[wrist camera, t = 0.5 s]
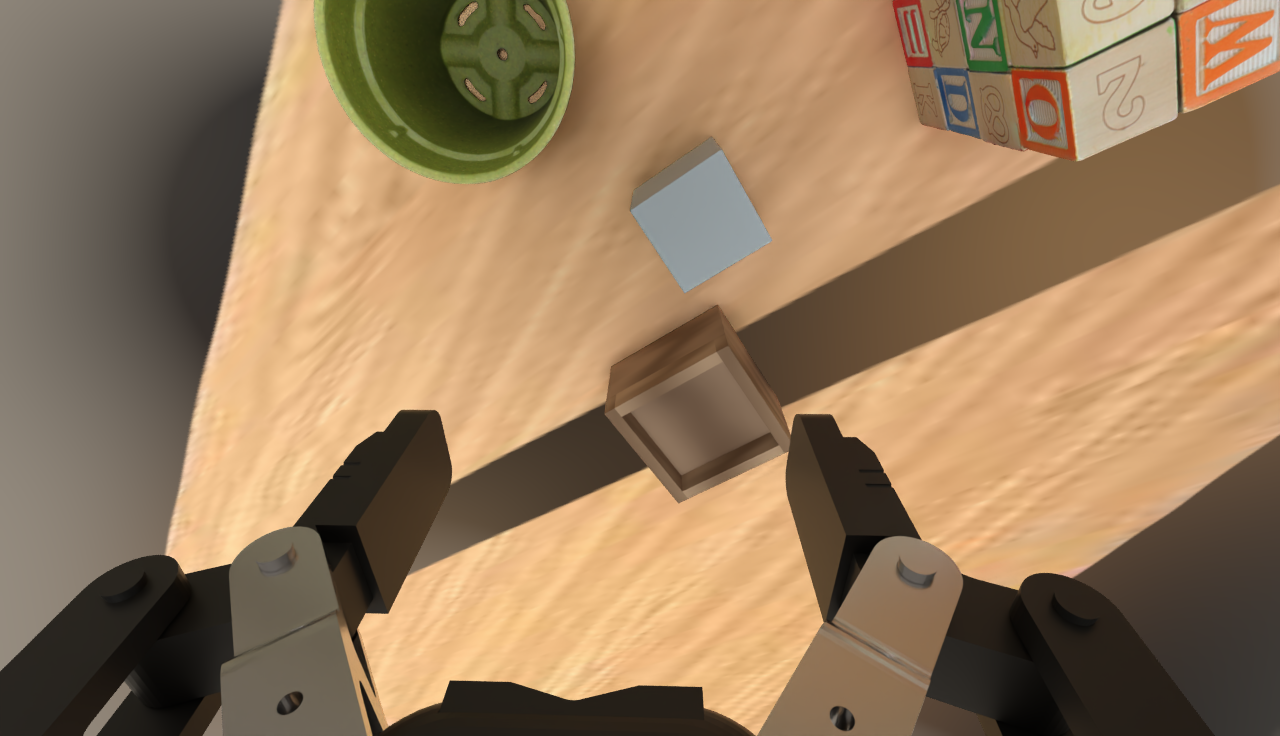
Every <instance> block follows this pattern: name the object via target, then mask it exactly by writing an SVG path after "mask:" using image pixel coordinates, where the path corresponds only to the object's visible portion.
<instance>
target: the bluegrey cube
mask: <svg viewBox="0 0 1280 736" xmlns="http://www.w3.org/2000/svg"><path fill="white" fill-rule="evenodd" d="M630 212H631V213H632V215H633V216H634V218H635V219H636V221H637V222H638V224H639V225H640V227H641V228H642V230H643V231H644V233H645V234H646V236H647V237H648V239H649V240H650V242H651V243H652V245H653V246H654V248H655V249H656V251H657V253H658V254H659V256H660V257H661V259H662V260H663V262H664V263H665V265H666V266H667V268H668V269H669V271H670V272H671V274H672V275H673V277H674V278H675V280H676V281H677V283H678V284H679V286H680V287H681V289H682V290H683V292H684V293H686V292H688V291H690V290H691V289H693V288H695V287H696V286H698V285H700V284H701V283H703V282H705V281H706V280H708V279H710V278H711V277H713V276H715V275H716V274H718V273H720V272H721V271H723V270H725V269H726V268H728V267H730V266H731V265H733V264H735V263H736V262H738V261H740V260H741V259H743V258H745V257H746V256H748V255H750V254H751V253H753V252H755V251H756V250H758V249H760V248H761V247H763V246H765V245H766V244H768V243H770V242H771V241H772V239H771V237H770V235H769V234H768V232H767V230H766V228H765V226H764V225H763V223H762V221H761V219H760V217H759V216H758V214H757V212H756V210H755V208H754V207H753V205H752V203H751V201H750V199H749V198H748V196H747V194H746V192H745V190H744V189H743V187H742V185H741V183H740V181H739V180H738V178H737V176H736V174H735V172H734V171H733V169H732V167H731V165H730V163H729V162H728V160H727V158H726V156H725V154H724V153H723V151H722V149H721V148H720V147H719V145H718V144H717V143H716V141H715V140H714V139H713V137H710V138H709V139H708V140H706V141H705V142H703V143H702V144H700V145H699V146H697V147H696V148H694V149H693V150H691V151H690V152H689V153H687V154H686V155H684V156H683V157H681V158H680V159H678V160H677V161H675V162H674V163H672V164H671V165H670V166H668V167H667V168H665V169H664V170H662V171H661V172H659V173H658V174H656V175H655V176H653V177H652V178H651V179H649V180H648V181H646V182H645V183H643V184H642V185H640V186H639V187H637V188H636V189H634V191H633V196H632V202H631V208H630Z"/></svg>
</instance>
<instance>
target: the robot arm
mask: <svg viewBox="0 0 1280 736" xmlns="http://www.w3.org/2000/svg"><path fill="white" fill-rule="evenodd" d="M451 478H452V465H451V460H450V456H449V451H448V447H447V443H446V438H445V434H444V430H443V425H442V421H441V417H440V415H439V413H438V412H437V411H436V410H401V411H400V412H398V414H397V415H396V416H395V418H394V419H393V420H392V422H391V423H390V424H389V426H388V427H387V428H386V430H385V431H384V432H376V433H374V434H373V435H371V436H370V437H368V438H367V439H366V440H364V441H363V442H361V443H360V444H358V445H357V446H356V447H355V448H354V450H353V451H352V452H351V453H350V455H349V456H348V457H347V459H346V460H345V461H344V465H341V466H340V467H339V469H338V470H337V471H336V473H335V474H334V475H333V479H330V480H329V481H328V483H327V484H326V485H325V487H324V488H323V489H322V490H321V492H320V493H319V494H318V495H317V497H316V498H315V499H314V501H313V502H312V503H311V504H310V506H309V507H308V508H307V509H306V511H305V512H304V513H303V515H302V516H301V517H300V518H299V520H298V521H297V522H296V523H295V525H294V526H293V527H288V528H283V529H279V530H276V531H273V532H271V533H269V534H266V535H264V536H262V537H260V538H259V539H257V540H255V541H254V542H252V543H251V544H249V545H248V546H247V547H246V548H244V549H243V550H242V551H241V552H240V553H239V554H238V556H237V557H236V558H235V559H234V561H233V563H232V564H228V565H224V566H219V567H215V568H210V569H206V570H201V571H197V572H193V573H188V574H184V572H183V571H182V569H181V567H180V566H179V564H178V563H177V561H176V560H175V559H174V558H172V557H170V556H165V555H153V556H146V557H141V558H138V559H135V560H132V561H129V562H126V563H124V564H122V565H119V566H117V567H115V568H113V569H111V570H110V571H108V572H106V573H104V574H103V575H101V576H100V577H98V578H97V579H96V580H94V581H93V582H92V583H90V584H89V585H88V586H87V587H86V588H85V589H84V590H83V591H81V593H79V594H78V595H77V596H76V598H74V599H73V600H72V601H71V602H70V604H68V605H67V606H66V607H65V608H64V609H63V610H62V611H61V612H60V613H59V614H58V615H57V616H56V617H55V618H54V619H53V620H52V621H51V622H50V623H49V624H48V625H47V626H46V627H45V628H44V629H43V630H42V631H41V632H40V633H39V634H38V635H37V636H36V637H35V638H34V639H33V640H32V641H31V642H30V643H29V644H28V645H27V646H26V647H25V648H24V649H23V650H22V651H21V652H20V653H19V654H18V655H16V657H14V659H13V660H11V662H9V663H8V664H7V665H6V666H5V667H4V668H3V669H2V670H1V671H0V736H83V734H84V732H85V731H86V729H87V727H88V726H89V725H90V723H91V721H92V720H93V719H94V718H95V717H96V716H97V714H98V713H99V712H100V710H101V709H102V708H103V707H104V705H105V704H106V703H107V702H108V700H109V699H110V698H111V697H112V696H113V694H114V693H115V692H116V691H117V689H118V688H119V687H120V686H121V684H122V683H123V682H124V681H125V683H126V684H127V685H128V686H129V688H130V689H131V690H132V691H131V692H130V693H129V695H128V696H127V697H126V699H125V700H124V701H123V702H122V704H121V705H120V706H119V708H118V709H117V710H116V711H115V713H114V714H113V715H112V717H111V718H110V719H109V720H108V722H107V723H106V724H105V726H104V727H103V728H102V730H101V731H100V732H99V733H98V735H97V736H202V735H203V734H204V732H205V731H206V729H207V727H208V726H209V724H210V723H211V721H212V719H213V718H214V716H215V715H216V713H217V711H218V710H219V708H220V706H221V705H222V728H223V736H755V735H754V734H753V733H751V732H750V731H749V730H748V729H746V728H745V727H743V726H742V725H740V724H738V723H737V722H735V721H733V720H732V719H730V718H728V717H726V716H723V715H721V714H719V713H717V712H714V711H711V710H708V709H705V708H704V707H703V691H702V687H679V686H640V685H639V686H635V687H631V688H627V689H623V690H618V691H614V692H610V693H606V694H602V695H597V696H593V697H589V698H585V699H581V700H567V699H563V698H560V697H557V696H554V695H550V694H547V693H544V692H541V691H538V690H535V689H531V688H528V687H525V686H522V685H519V684H515V683H512V682H486V681H450V682H449V685H448V687H447V690H446V693H445V696H444V699H443V702H442V703H438V704H435V705H432V706H429V707H426V708H424V709H421V710H418V711H416V712H414V713H412V714H410V715H408V716H406V717H404V718H402V719H401V720H399V721H397V722H396V723H394V724H392V725H391V726H389V727H388V724H387V722H386V719H385V716H384V713H383V709H382V706H381V703H380V699H379V696H378V692H377V689H376V685H375V682H374V679H373V675H372V672H371V668H370V665H369V661H368V658H367V654H366V651H365V647H364V644H363V641H362V637H361V634H360V632H359V629H358V626H359V624H360V622H361V620H362V619H363V617H364V615H365V613H381V614H388V613H389V611H390V609H391V607H392V605H393V603H394V601H395V599H396V597H397V595H398V593H399V591H400V589H401V587H402V585H403V582H404V580H405V578H406V576H407V574H408V572H409V570H410V568H411V566H412V564H413V562H414V560H415V558H416V556H417V554H418V552H419V550H420V548H421V546H422V544H423V542H424V540H425V538H426V536H427V534H428V531H429V529H430V527H431V525H432V523H433V521H434V519H435V517H436V515H437V513H438V511H439V509H440V507H441V505H442V503H443V501H444V499H445V497H446V495H447V493H448V491H449V488H450V484H451ZM786 490H787V496H788V500H789V503H790V507H791V510H792V513H793V517H794V520H795V524H796V527H797V531H798V534H799V538H800V541H801V545H802V548H803V552H804V555H805V559H806V562H807V566H808V569H809V572H810V576H811V579H812V583H813V586H814V590H815V593H816V597H817V600H818V604H819V607H820V611H821V614H822V618H823V621H824V623H823V624H822V626H821V627H820V629H819V631H818V632H817V634H816V636H815V637H814V639H813V641H812V643H811V644H810V646H809V648H808V649H807V651H806V653H805V655H804V656H803V658H802V660H801V661H800V663H799V665H798V667H797V668H796V670H795V672H794V673H793V675H792V677H791V679H790V680H789V682H788V684H787V685H786V687H785V689H784V691H783V692H782V694H781V696H780V698H779V699H778V701H777V703H776V704H775V706H774V708H773V710H772V711H771V713H770V715H769V716H768V718H767V720H766V722H765V723H764V725H763V727H762V728H761V730H760V732H759V734H758V735H757V736H911V734H912V732H913V729H914V726H915V724H916V721H917V718H918V715H919V712H920V710H921V707H922V704H923V701H924V698H925V696H927V697H930V698H933V699H936V700H939V701H942V702H945V703H947V704H950V705H953V706H956V707H959V708H962V709H965V710H968V711H972V712H974V713H976V714H977V716H978V719H979V721H980V723H981V726H982V728H983V730H984V732H985V735H986V736H1215V735H1214V734H1213V733H1212V731H1211V730H1210V729H1209V727H1208V726H1207V725H1206V723H1205V722H1204V721H1203V720H1202V718H1201V717H1200V716H1199V714H1198V713H1197V712H1196V710H1195V709H1194V708H1193V706H1192V705H1191V704H1190V702H1189V701H1188V700H1187V698H1186V697H1185V696H1184V695H1183V693H1182V692H1181V691H1180V689H1179V688H1178V687H1177V685H1176V684H1175V683H1174V682H1173V680H1172V679H1171V677H1170V676H1169V675H1168V673H1167V672H1166V671H1165V669H1164V668H1163V667H1162V666H1161V664H1160V663H1159V662H1158V660H1157V659H1156V658H1155V656H1154V655H1153V654H1152V652H1151V651H1150V650H1149V648H1148V647H1147V646H1146V644H1145V643H1144V642H1143V640H1142V639H1141V638H1140V637H1139V635H1138V634H1137V633H1136V631H1135V630H1134V629H1133V627H1132V626H1131V625H1130V623H1129V622H1128V621H1127V619H1126V618H1125V617H1124V615H1123V614H1122V613H1121V612H1120V611H1119V609H1118V608H1117V607H1116V606H1115V605H1114V604H1113V603H1112V602H1111V601H1110V600H1109V599H1107V598H1106V597H1105V596H1103V595H1102V594H1101V593H1099V592H1098V591H1096V590H1095V589H1093V588H1091V587H1090V586H1088V585H1086V584H1084V583H1082V582H1079V581H1077V580H1075V579H1072V578H1069V577H1066V576H1063V575H1058V574H1052V573H1038V574H1034V575H1031V576H1029V577H1027V578H1026V579H1025V580H1024V581H1023V583H1022V584H1021V586H1020V588H1019V590H1015V589H1011V588H1007V587H1004V586H1000V585H996V584H992V583H989V582H985V581H981V580H977V579H974V578H971V577H968V576H966V575H963V574H961V572H960V570H959V568H958V567H957V565H956V564H955V563H954V561H953V560H952V559H951V558H950V557H949V556H948V555H947V554H945V553H944V552H943V551H942V550H940V549H938V548H937V547H935V546H934V545H932V544H930V543H928V542H925V541H922V540H921V538H920V536H919V534H918V532H917V531H916V529H915V527H914V525H913V523H912V521H911V520H910V518H909V516H908V514H907V512H906V510H905V508H904V507H903V505H902V503H901V501H900V499H899V497H898V495H897V494H896V492H895V490H894V488H892V487H891V482H890V481H889V479H888V477H887V475H886V473H884V470H883V468H882V466H881V464H880V462H879V460H878V458H877V457H876V455H875V453H874V452H873V451H872V450H871V449H870V448H868V447H867V446H866V445H865V444H864V443H863V442H861V441H860V440H859V439H858V438H857V437H843V436H842V434H841V432H840V430H839V428H838V426H837V424H836V422H835V420H834V418H833V416H832V415H830V414H796V415H795V417H794V421H793V426H792V433H791V439H790V446H789V453H788V459H787V466H786Z"/></svg>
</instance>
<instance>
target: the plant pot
mask: <svg viewBox="0 0 1280 736" xmlns="http://www.w3.org/2000/svg"><path fill="white" fill-rule="evenodd" d="M472 2H477V3H478V8H477V9H476V10H475V11H474V12H473V13H471V15H470V16H469V17H468V18H467V20H466V22H465V24H464V25H463V26H459V25H458V17H459V15H460V13H461V12H462V11H463V10H464V8H465V7H466V6H467V5H468V4H470V3H472ZM526 4H529V5H530V6H531V8H532V9H533V10H534V11H535V12H536V13H537V14H539V15H540V16H541V17H542V19H543V21H544V23H545V25H546V27H545V30H541V29H540V27H539V25H538V24H537V23H536V22H535V20H534V19H533V18H532V17H531V16H530V15H529V13H528V12H526V11H525V10H524V9H523V5H526ZM314 22H315V30H316V38H317V45H318V51H319V55H320V58H321V61H322V64H323V67H324V70H325V73H326V76H327V78H328V81H329V83H330V85H331V88H332V90H333V91H334V93H335V95H336V97H337V99H338V101H339V103H340V104H341V106H342V107H343V109H344V111H345V112H346V114H347V115H348V117H349V118H350V120H351V121H352V122H353V123H354V125H355V126H356V127H357V129H358V130H359V131H360V132H361V133H362V134H363V135H364V136H365V137H366V138H367V139H368V140H369V141H370V142H371V143H372V144H373V145H374V146H375V147H376V148H377V149H379V150H380V151H381V152H382V153H383V154H385V155H386V156H387V157H389V158H390V159H391V160H393V161H394V162H396V163H398V164H399V165H401V166H403V167H405V168H406V169H408V170H410V171H412V172H415V173H417V174H419V175H422V176H424V177H427V178H431V179H434V180H437V181H442V182H448V183H454V184H479V183H486V182H491V181H495V180H498V179H500V178H503V177H506V176H508V175H510V174H512V173H514V172H516V171H517V170H519V169H520V168H522V167H523V166H525V165H526V164H528V163H529V162H530V161H532V160H533V159H534V158H535V157H536V156H537V155H538V154H539V153H540V152H541V151H542V150H543V149H544V148H545V146H546V145H547V144H548V143H549V141H550V140H551V139H552V137H553V136H554V134H555V132H556V130H557V129H558V127H559V125H560V123H561V121H562V118H563V116H564V114H565V111H566V108H567V105H568V102H569V99H570V94H571V90H572V85H573V78H574V68H575V43H574V35H573V27H572V22H571V17H570V13H569V9H568V6H567V2H566V0H314ZM499 49H504V50H505V51H506V52H507V59H506V60H501V59H499V57H498V55H497V51H498V50H499ZM465 78H467V79H469V81H470V82H471V83H472V85H473V86H474V87H475V89H476V90H477V91H478V92H479V93H480V94H482V95H483V96H484V97H485V98H486V101H480V100H479V99H477V98H476V97H475V96H474V95H473V94H472V93H471V92H470V91H469V90H468V89H467V87H466V86H465V82H464V80H465ZM544 81H547V88H546V90H545V92H544V94H543V95H542V96H541V98H540V99H538V100H537V101H536V102H535V103H529V101H528V98H529V97H530V96H531V95H533V94H534V93H535V92H536V91H537V90H538V89H539V88H540V86H541V85H542V84H543V82H544Z"/></svg>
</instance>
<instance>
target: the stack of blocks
mask: <svg viewBox="0 0 1280 736" xmlns="http://www.w3.org/2000/svg"><path fill="white" fill-rule="evenodd" d="M893 7H894V12H895V17H896V21H897V25H898V29H899V33H900V37H901V41H902V45H903V50H904V54H905V58H906V62H907V65H908V72H909V76H910V81H911V85H912V89H913V93H914V98H915V102H916V106H917V110H918V114H919V118H920V122H921V123H922V124H923V125H925V126H930V127H935V128H937V129H941V130H947V131H949V130H951V131H953V132H957V133H961V134H965V135H969V136H972V137H975V138H979V139H983V140H984V141H985V142H989V143H992V144H994V145H999V146H1002V147H1007V148H1010V149H1015V150H1019V151H1026V150H1028V149H1029V150H1033V151H1036V152H1040V153H1044V154H1048V155H1052V156H1055V157H1059V158H1063V159H1067V160H1072V161H1080V160H1083V159H1085V158H1088V157H1090V156H1092V155H1094V154H1097V153H1099V152H1101V151H1103V150H1105V149H1108V148H1110V147H1112V146H1115V145H1117V144H1119V143H1121V142H1124V141H1126V140H1128V139H1130V138H1133V137H1135V136H1137V135H1140V134H1142V133H1144V132H1146V131H1149V130H1151V129H1154V128H1156V127H1158V126H1161V125H1163V124H1166V123H1168V122H1170V121H1172V120H1174V119H1176V118H1177V114H1178V113H1186V112H1189V111H1192V110H1195V109H1197V108H1200V107H1202V106H1204V105H1207V104H1209V103H1211V102H1213V101H1215V100H1218V99H1220V98H1222V97H1224V96H1226V95H1229V94H1231V93H1233V92H1235V91H1237V90H1240V89H1242V88H1244V87H1246V86H1249V85H1250V84H1253V83H1255V82H1257V81H1259V80H1261V79H1264V78H1266V77H1268V76H1270V75H1272V74H1275V73H1277V72H1279V71H1280V0H893Z"/></svg>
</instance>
